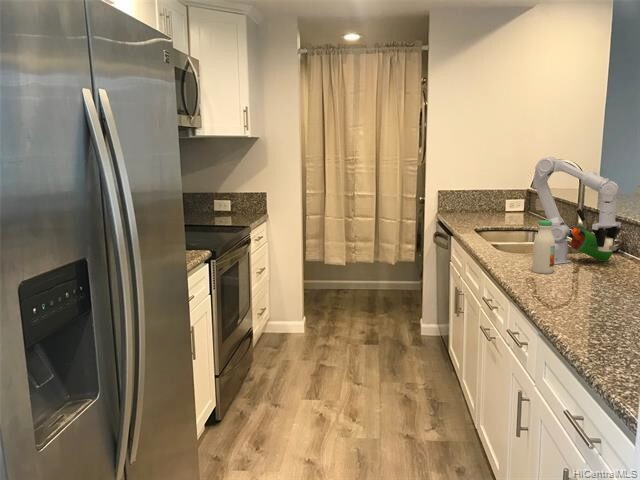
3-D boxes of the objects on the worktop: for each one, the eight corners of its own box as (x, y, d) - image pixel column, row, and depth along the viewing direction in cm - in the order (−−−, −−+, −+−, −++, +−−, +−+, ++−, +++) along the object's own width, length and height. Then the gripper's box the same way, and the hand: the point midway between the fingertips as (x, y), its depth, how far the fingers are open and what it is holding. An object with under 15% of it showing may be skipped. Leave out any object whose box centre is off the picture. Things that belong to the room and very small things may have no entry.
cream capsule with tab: (610, 253, 210) (611, 240, 209) (595, 250, 216) (596, 237, 215) (619, 251, 212) (620, 239, 211) (603, 248, 218) (604, 236, 217)
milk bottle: (543, 275, 203) (547, 223, 200) (527, 271, 210) (530, 220, 206) (557, 272, 207) (561, 221, 203) (541, 268, 213) (544, 219, 210)
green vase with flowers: (588, 253, 232) (556, 238, 225) (601, 236, 229) (568, 220, 222) (604, 265, 223) (570, 249, 216) (617, 247, 220) (584, 230, 213)
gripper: (604, 214, 205) (602, 249, 208) (629, 212, 211) (626, 245, 214) (588, 212, 211) (585, 246, 214) (612, 210, 218) (609, 243, 220)
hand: (605, 246), depth 214 cm, fingers closed on cream capsule with tab, 5 cm apart
